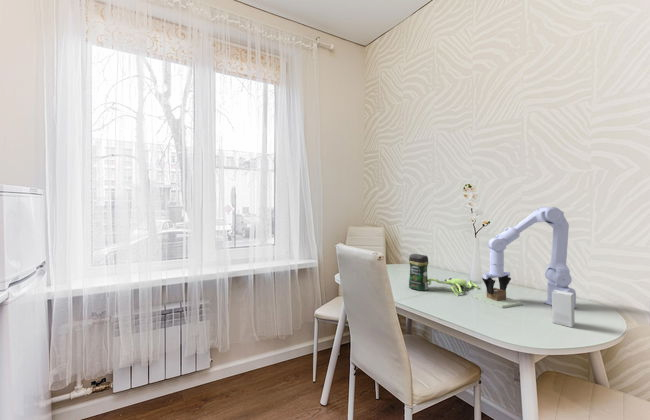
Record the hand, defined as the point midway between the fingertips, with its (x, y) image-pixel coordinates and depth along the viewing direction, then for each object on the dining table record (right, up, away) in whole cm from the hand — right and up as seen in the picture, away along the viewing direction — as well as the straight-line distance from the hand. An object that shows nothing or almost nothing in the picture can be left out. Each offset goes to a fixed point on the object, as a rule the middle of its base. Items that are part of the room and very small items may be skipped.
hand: (496, 292), depth 136 cm
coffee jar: (-30, -4, +20) cm, 36 cm away
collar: (0, -3, 0) cm, 3 cm away
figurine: (-12, -4, +19) cm, 23 cm away
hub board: (0, -4, 0) cm, 4 cm away
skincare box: (+10, -5, -26) cm, 28 cm away
